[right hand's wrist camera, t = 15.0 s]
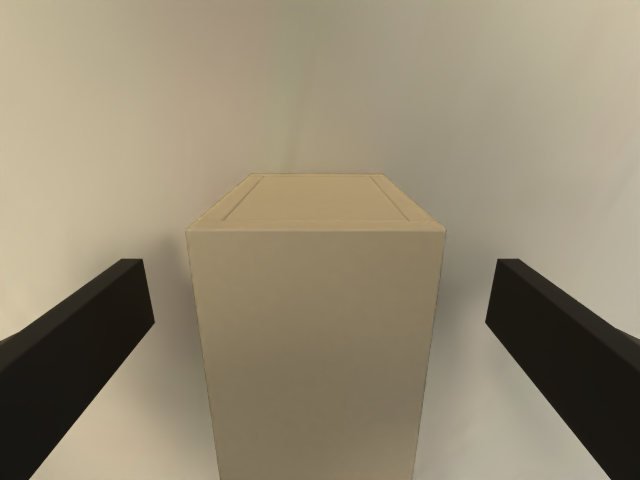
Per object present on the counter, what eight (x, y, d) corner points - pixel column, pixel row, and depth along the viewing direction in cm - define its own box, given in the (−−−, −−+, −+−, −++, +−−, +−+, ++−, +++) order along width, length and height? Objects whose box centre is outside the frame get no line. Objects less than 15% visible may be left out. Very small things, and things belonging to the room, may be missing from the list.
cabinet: (365, 447, 21) (391, 633, 14) (269, 448, 21) (241, 634, 14) (383, 173, 16) (447, 229, 8) (250, 173, 16) (183, 229, 8)
